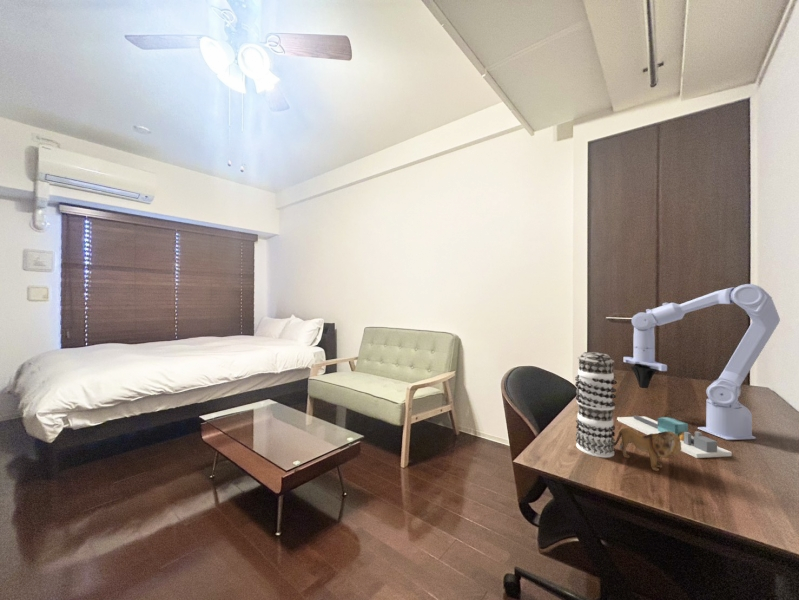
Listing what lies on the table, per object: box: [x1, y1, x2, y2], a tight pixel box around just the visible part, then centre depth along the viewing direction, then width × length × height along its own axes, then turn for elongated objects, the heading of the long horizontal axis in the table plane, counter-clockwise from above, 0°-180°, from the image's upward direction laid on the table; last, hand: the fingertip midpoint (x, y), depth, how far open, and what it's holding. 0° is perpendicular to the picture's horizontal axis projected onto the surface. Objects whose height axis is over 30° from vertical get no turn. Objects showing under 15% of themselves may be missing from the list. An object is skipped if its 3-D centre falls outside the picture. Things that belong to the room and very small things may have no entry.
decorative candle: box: [574, 351, 618, 458], centre depth 80 cm, size 9×9×25 cm
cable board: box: [616, 414, 733, 459], centre depth 88 cm, size 10×24×4 cm, turn 7°
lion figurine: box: [614, 427, 682, 472], centre depth 74 cm, size 15×5×9 cm, turn 31°
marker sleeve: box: [657, 416, 689, 436], centre depth 87 cm, size 4×5×4 cm
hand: (643, 387), depth 105 cm, fingers closed
